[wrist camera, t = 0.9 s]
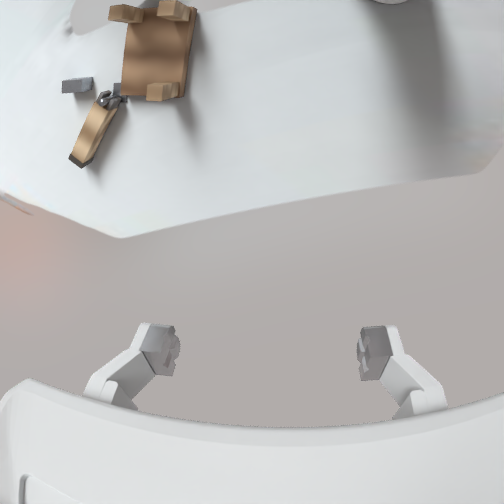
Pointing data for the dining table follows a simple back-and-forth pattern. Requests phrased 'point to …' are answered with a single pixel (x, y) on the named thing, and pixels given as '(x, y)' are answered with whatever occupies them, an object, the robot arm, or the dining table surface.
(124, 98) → the hinge bracket
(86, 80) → the block
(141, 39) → the stool seat
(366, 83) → the dining table surface
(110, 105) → the hinged leg
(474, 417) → the robot arm
